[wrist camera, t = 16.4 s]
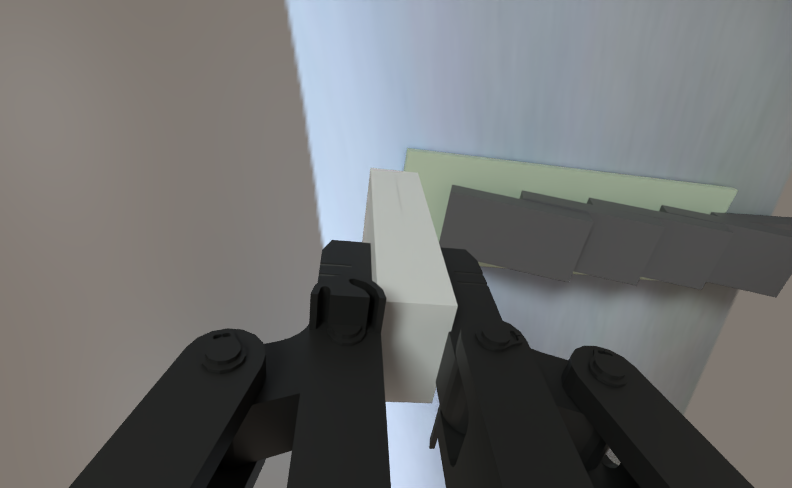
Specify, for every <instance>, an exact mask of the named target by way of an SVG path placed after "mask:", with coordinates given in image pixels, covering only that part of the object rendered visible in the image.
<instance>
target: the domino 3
mask: <svg viewBox="0 0 792 488" xmlns="http://www.w3.org/2000/svg"><path fill="white" fill-rule="evenodd" d="M587 204H591V205H596V206H601V207H606V208H611V209H615V210H620V211H625V212H630V213H635V214H640V215H645V216H650V217H654V218H658V219H659V220H660V221H661V223H662V224H663V225H664V226H665V229H664V231H663V233H662V235H661V237H660V239H659V241H658V243H657V245H656V247H655V249H654V251H653V253H652V255H651V257H650V259H649V261H648V263H647V265H646V267H645V269H644V271H643V273H642V275H641V277H644V278H649V279H654V280H658V281H663V282H668V283H672V284H677V285H681V286H686V287H691V288H695V289H700V290H702V288H703V286H704V285H705V283H706V281H707V280H708V278H709V276H710V274H711V273H712V271H713V269H714V267H715V266H716V264H717V262H718V260H719V259H720V257H721V255H722V253H723V252H724V250H725V248H726V247H727V245H728V243H729V241H730V240H731V238H732V236H733V234H734V233H733V232H732V231H731V230H730V229H729V228H728V227H727V226H725V225H724V224H720V223H715V222H710V221H705V220H700V219H695V218H690V217H685V216H680V215H675V214H670V213H665V212H660V211H655V210H650V209H645V208H640V207H635V206H630V205H625V204H620V203H615V202H610V201H605V200H599V199H594V198H589V199H588V201H587Z"/></svg>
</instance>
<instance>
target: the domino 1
mask: <svg viewBox="0 0 792 488" xmlns="http://www.w3.org/2000/svg"><path fill="white" fill-rule="evenodd" d="M592 225H593V221H592V219H591V217H590V215H589V213H584V212H579V211H575V210H570V209H565V208H561V207H556V206H551V205H546V204H542V203H537V202H532V201H528V200H523V199H518V198H514V197H509V196H504V195H499V194H495V193H490V192H485V191H481V190H476V189H471V188H466V187H462V186H457V185H452V188H451V191H450V196H449V200H448V205H447V209H446V214H445V218H444V223H443V227H442V232H441V236H440V240H439V245H440V247H442V248H455V249H466V250H467V251H468V252H469V253H470V254H471V255H472V256H473V257H474V258H475V259H476V260H477V261H478V262H482V263H486V264H491V265H495V266H499V267H504V268H508V269H512V270H517V271H521V272H525V273H530V274H534V275H538V276H543V277H547V278H551V279H556V280H560V281H564V282H569V281H570V279H571V276H572V274H573V271H574V269H575V266H576V264H577V261H578V259H579V256H580V254H581V252H582V249H583V247H584V244H585V242H586V239H587V237H588V234H589V232H590V229H591V227H592Z"/></svg>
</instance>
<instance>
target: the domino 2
mask: <svg viewBox="0 0 792 488" xmlns="http://www.w3.org/2000/svg"><path fill="white" fill-rule="evenodd" d="M519 199H523V200H528V201H532V202H537V203H542V204H546V205H551V206H556V207H561V208H565V209H570V210H575V211H579V212H584V213H589V215H590V217H591V219H592V221H593V225H592V227H591V229H590V232H589V234H588V237H587V239H586V242H585V244H584V247H583V249H582V252H581V254H580V256H579V259H578V261H577V264H576V266H575V269H574V272H578V273H583V274H587V275H592V276H596V277H601V278H605V279H610V280H614V281H619V282H623V283H627V284H632V285H637V283H638V281H639V279H640V277H641V275H642V273H643V271H644V269H645V267H646V265H647V263H648V261H649V259H650V257H651V255H652V253H653V251H654V249H655V247H656V245H657V243H658V241H659V239H660V237H661V235H662V233H663V231H664V229H665V226H664V225H663V224H662V223H661V221H660V220H659V219H658V218H654V217H650V216H645V215H640V214H635V213H630V212H625V211H620V210H615V209H611V208H606V207H601V206H596V205H591V204H586V203H581V202H577V201H572V200H567V199H562V198H557V197H552V196H547V195H542V194H538V193H533V192H528V191H523V190H522V192H521V195H520V198H519Z"/></svg>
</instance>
